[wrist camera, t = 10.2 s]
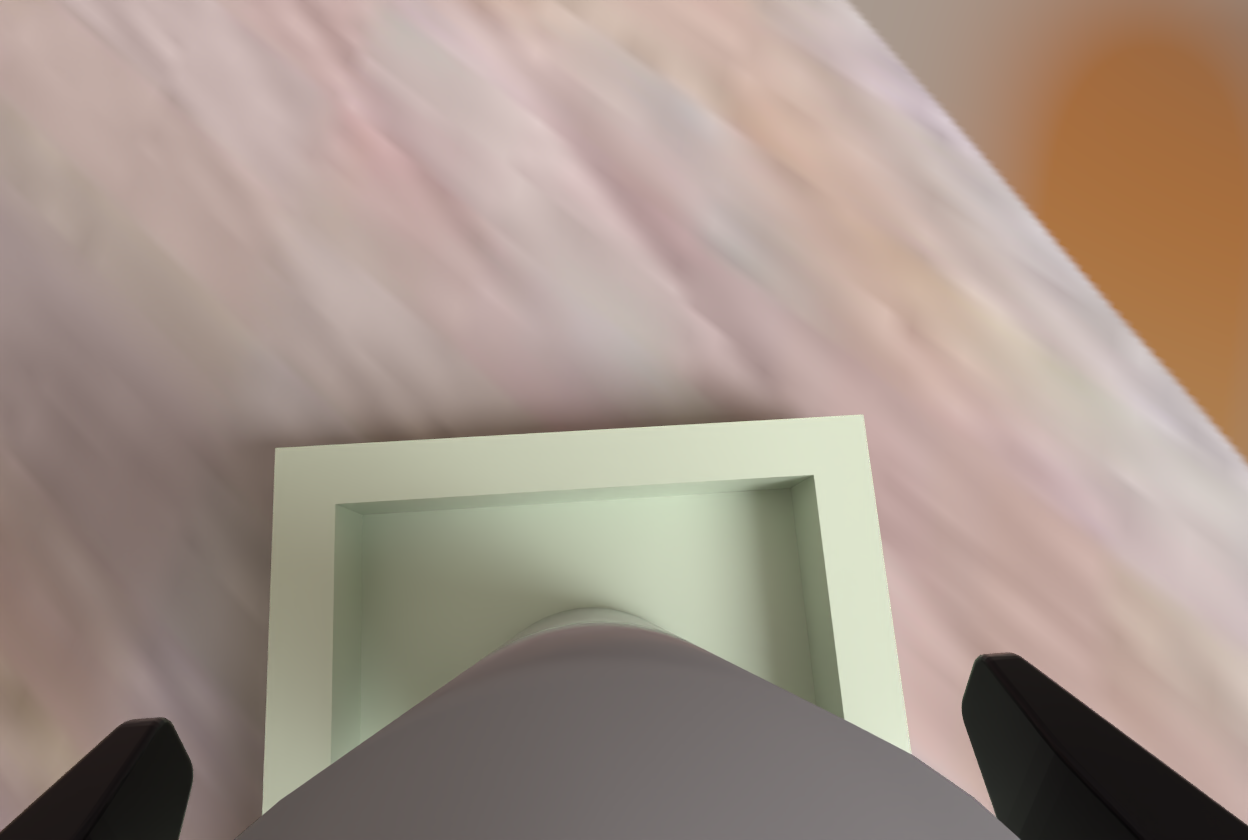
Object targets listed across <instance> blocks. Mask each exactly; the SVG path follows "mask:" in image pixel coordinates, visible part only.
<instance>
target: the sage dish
mask: <svg viewBox="0 0 1248 840" xmlns="http://www.w3.org/2000/svg"><path fill="white" fill-rule="evenodd" d="M591 607H596V608H609V609H614V610H619V611H624V612H627V613H630V614H633V615H635V616H638V617H641V618H643V619H645V620H647V621H649V622H651V623H653V624H655V625H657V626H659V627H661V628H663V629H665V630H667V631H669V632H671V633H673V634H675V635H677V636H679V637H681V638H683V639H685V640H687V641H689V642H691V643H693V644H695V645H696V646H698V647H700V648H702V649H704V650H706V651H708V652H710V653H712V654H714V655H716V656H718V657H720V658H722V659H724V660H726V661H728V662H730V663H732V664H734V665H736V666H738V667H740V668H742V669H744V670H746V671H748V672H750V673H752V674H754V675H756V676H758V677H760V678H762V679H764V680H766V681H768V682H770V683H772V684H774V685H776V686H778V687H780V688H782V689H784V690H786V691H788V692H790V693H792V694H794V695H796V696H798V697H800V698H802V699H804V700H806V701H808V702H810V703H812V704H814V705H816V706H818V707H820V708H822V709H824V710H826V711H828V712H830V713H832V714H834V715H836V716H838V717H840V718H842V719H844V720H846V721H848V722H850V723H852V724H854V725H856V726H858V727H860V728H862V729H864V730H866V731H868V732H870V733H871V734H873V735H875V736H877V737H879V738H881V739H883V740H885V741H887V742H889V743H891V744H893V745H895V746H897V747H898V748H900V749H902V750H904V751H906V752H908V753H910V754H911V747H910V740H909V733H908V726H907V719H906V711H905V704H904V697H903V690H902V683H901V676H900V669H899V662H898V655H897V648H896V641H895V634H894V627H893V620H892V613H891V606H890V599H889V592H888V585H887V578H886V571H885V564H884V557H883V550H882V543H881V536H880V529H879V522H878V515H877V508H876V501H875V494H874V487H873V480H872V473H871V466H870V459H869V452H868V445H867V438H866V431H865V423H864V416H863V415H847V416H829V417H811V418H794V419H776V420H759V421H741V422H723V423H706V424H688V425H671V426H653V427H635V428H618V429H600V430H583V431H565V432H547V433H530V434H512V435H495V436H477V437H459V438H442V439H424V440H407V441H389V442H371V443H354V444H336V445H319V446H301V447H283V448H275V467H274V495H273V523H272V551H271V579H270V607H269V635H268V663H267V691H266V719H265V747H264V775H263V803H262V815H263V814H264V813H266V812H267V811H268V810H269V809H270V808H271V807H273V806H274V805H275V804H276V803H277V802H278V801H280V800H281V799H282V798H284V797H285V796H287V795H288V794H290V793H291V792H292V791H294V790H295V789H297V788H298V787H300V786H301V785H302V784H304V783H305V782H307V781H308V780H310V779H311V778H312V777H314V776H315V775H317V774H318V773H320V772H321V771H322V770H324V769H325V768H327V767H328V766H330V765H331V764H332V763H334V762H335V761H337V760H338V759H340V758H341V757H342V756H344V755H345V754H347V753H348V752H350V751H351V750H352V749H354V748H355V747H357V746H358V745H360V744H361V743H362V742H364V741H365V740H367V739H368V738H370V737H371V736H372V735H374V734H375V733H377V732H378V731H380V730H381V729H382V728H384V727H385V726H387V725H388V724H390V723H391V722H392V721H394V720H395V719H397V718H398V717H400V716H401V715H402V714H404V713H405V712H407V711H408V710H410V709H411V708H412V707H414V706H415V705H417V704H418V703H420V702H421V701H422V700H424V699H425V698H427V697H428V696H430V695H431V694H432V693H434V692H435V691H437V690H438V689H440V688H441V687H442V686H444V685H445V684H447V683H448V682H450V681H451V680H452V679H454V678H455V677H457V676H458V675H460V674H461V673H462V672H464V671H465V670H467V669H468V668H470V667H471V666H472V665H474V664H475V663H477V662H478V661H480V660H481V659H482V658H484V657H485V656H487V655H488V654H490V653H491V652H492V651H494V650H495V649H497V648H498V647H500V646H501V645H502V644H504V643H505V642H507V641H508V640H509V639H511V638H512V637H514V636H515V635H517V634H518V633H519V632H521V631H523V630H524V629H526V628H527V627H529V626H530V625H532V624H533V623H535V622H537V621H539V620H541V619H543V618H545V617H547V616H550V615H553V614H556V613H559V612H562V611H567V610H572V609H577V608H591Z"/></svg>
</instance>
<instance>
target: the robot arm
mask: <svg viewBox="0 0 1248 840" xmlns="http://www.w3.org/2000/svg"><path fill="white" fill-rule="evenodd" d="M962 716H963V720H964V724H965V727H966V730H967V733H968V735H969V738H970V741H971V744H972V747H973V750H974V753H975V756H976V759H977V762H978V765H979V767H980V770H981V773H982V776H983V779H984V782H985V785H986V788H987V791H988V794H989V797H990V799H991V802H992V805H993V808H994V811H995V814H996V817H997V819H998V820H999V821H1001V822H1002V823H1003V824H1004V825H1005V826H1006V827H1007V828H1008V829H1009V830H1011V831H1012V832H1013V833H1014V834H1015V835H1016V836H1017V837H1018V838H1019V839H1021V840H1248V825H1246V824H1245V823H1244V822H1242V821H1241V820H1240V819H1238V818H1237V817H1236V816H1234V815H1233V814H1232V813H1230V812H1229V811H1228V810H1226V809H1225V808H1224V807H1222V806H1221V805H1220V804H1218V803H1217V802H1216V801H1214V800H1213V799H1212V798H1210V797H1209V796H1208V795H1206V794H1205V793H1204V792H1202V791H1201V790H1199V789H1198V788H1197V787H1195V786H1194V785H1193V784H1191V783H1190V782H1189V781H1187V780H1186V779H1185V778H1183V777H1182V776H1181V775H1179V774H1178V773H1177V772H1175V771H1174V770H1173V769H1171V768H1170V767H1169V766H1167V765H1166V764H1165V763H1163V762H1162V761H1161V760H1159V759H1158V758H1157V757H1155V756H1154V755H1153V754H1151V753H1150V752H1148V751H1147V750H1146V749H1144V748H1143V747H1142V746H1140V745H1139V744H1138V743H1136V742H1135V741H1134V740H1132V739H1131V738H1130V737H1128V736H1127V735H1126V734H1124V733H1123V732H1122V731H1120V730H1119V729H1118V728H1116V727H1115V726H1114V725H1112V724H1111V723H1110V722H1108V721H1107V720H1106V719H1104V718H1103V717H1101V716H1100V715H1099V714H1097V713H1096V712H1095V711H1093V710H1092V709H1091V708H1089V707H1088V706H1087V705H1085V704H1084V703H1083V702H1081V701H1080V700H1079V699H1077V698H1076V697H1075V696H1073V695H1072V694H1071V693H1069V692H1068V691H1067V690H1065V689H1064V688H1063V687H1061V686H1060V685H1059V684H1057V683H1056V682H1054V681H1053V680H1052V679H1050V678H1049V677H1048V676H1046V675H1045V674H1044V673H1042V672H1041V671H1040V670H1038V669H1037V668H1036V667H1034V666H1033V665H1032V664H1030V663H1029V662H1028V661H1026V660H1025V659H1024V658H1022V657H1021V656H1019V655H1017V654H1014V653H1007V652H1006V653H993V654H983V655H980V656H979V657H978V658H977V659H976V660H975V662H974V664H973V667H972V670H971V674H970V677H969V680H968V683H967V686H966V689H965V693H964V696H963V699H962ZM192 782H193V768H192V763H191V760H190V758H189V756H188V754H187V752H186V750H185V748H184V746H183V744H182V742H181V740H180V738H179V736H178V734H177V732H176V730H175V728H174V726H173V724H172V723H171V721H169V720H167V719H166V718H162V717H158V718H145V719H134V720H129V721H126V722H124V723H123V724H121V725H120V726H118V727H117V728H116V729H115V730H113V731H112V732H111V733H110V734H109V735H108V736H107V737H106V738H105V739H103V740H102V741H101V742H100V743H99V744H98V745H97V746H96V747H95V748H93V749H92V750H91V751H90V752H89V753H88V754H87V755H86V756H84V757H83V758H82V759H81V760H80V761H79V762H78V763H77V764H76V765H74V766H73V767H72V768H71V769H70V770H69V771H68V772H67V773H66V774H64V775H63V776H62V777H61V778H60V779H59V780H58V781H57V782H56V783H54V784H53V785H52V786H51V787H50V788H49V789H48V790H47V791H45V792H44V793H43V794H42V795H41V796H40V797H39V798H38V799H37V800H35V801H34V802H33V803H32V804H31V805H30V806H29V807H28V808H27V809H25V810H24V811H23V812H22V813H21V814H20V815H19V816H18V817H17V818H15V819H14V820H13V821H12V822H11V823H10V824H9V825H8V826H6V827H5V828H4V829H3V830H2V831H1V832H0V840H179V836H180V832H181V828H182V824H183V820H184V816H185V812H186V808H187V804H188V800H189V795H190V791H191V787H192Z"/></svg>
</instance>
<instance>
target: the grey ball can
mask: <svg viewBox="0 0 1248 840" xmlns="http://www.w3.org/2000/svg"><path fill="white" fill-rule="evenodd" d="M234 840H1021V839H1019V838H1018V837H1017V836H1016V835H1015V834H1014V833H1013V832H1012V831H1011V830H1009V829H1008V828H1007V827H1006V826H1005V825H1004V824H1003V823H1002V822H1001V821H999V820H998V819H997V818H996V817H995V816H994V815H993V814H992V813H990V812H989V811H988V810H987V809H986V808H985V807H984V806H983V805H982V804H980V803H979V802H978V801H977V800H976V799H975V798H974V797H972V796H971V795H969V794H968V793H967V792H965V791H964V790H962V789H961V788H959V787H958V786H956V785H955V784H954V783H952V782H951V781H949V780H948V779H946V778H945V777H944V776H942V775H941V774H939V773H938V772H936V771H935V770H933V769H932V768H931V767H929V766H928V765H926V764H925V763H923V762H922V761H920V760H919V759H918V758H916V757H915V756H913V755H912V754H910V753H908V752H906V751H904V750H902V749H900V748H898V747H897V746H895V745H893V744H891V743H889V742H887V741H885V740H883V739H881V738H879V737H877V736H875V735H873V734H871V733H870V732H868V731H866V730H864V729H862V728H860V727H858V726H856V725H854V724H852V723H850V722H848V721H846V720H844V719H842V718H840V717H838V716H836V715H834V714H832V713H830V712H828V711H826V710H824V709H822V708H820V707H818V706H816V705H814V704H812V703H810V702H808V701H806V700H804V699H802V698H800V697H798V696H796V695H794V694H792V693H790V692H788V691H786V690H784V689H782V688H780V687H778V686H776V685H774V684H772V683H770V682H768V681H766V680H764V679H762V678H760V677H758V676H756V675H754V674H752V673H750V672H748V671H746V670H744V669H742V668H740V667H738V666H736V665H734V664H732V663H730V662H728V661H726V660H724V659H722V658H720V657H718V656H716V655H714V654H712V653H710V652H708V651H706V650H704V649H702V648H700V647H698V646H696V645H695V644H693V643H691V642H689V641H687V640H685V639H683V638H681V637H679V636H677V635H675V634H673V633H671V632H669V631H667V630H665V629H663V628H661V627H659V626H657V625H655V624H653V623H651V622H649V621H647V620H645V619H643V618H641V617H638V616H635V615H633V614H630V613H627V612H624V611H619V610H614V609H609V608H596V607H591V608H577V609H572V610H567V611H562V612H559V613H556V614H553V615H550V616H547V617H545V618H543V619H541V620H539V621H537V622H535V623H533V624H532V625H530V626H529V627H527V628H526V629H524V630H523V631H521V632H519V633H518V634H517V635H515V636H514V637H512V638H511V639H509V640H508V641H507V642H505V643H504V644H502V645H501V646H500V647H498V648H497V649H495V650H494V651H492V652H491V653H490V654H488V655H487V656H485V657H484V658H482V659H481V660H480V661H478V662H477V663H475V664H474V665H472V666H471V667H470V668H468V669H467V670H465V671H464V672H462V673H461V674H460V675H458V676H457V677H455V678H454V679H452V680H451V681H450V682H448V683H447V684H445V685H444V686H442V687H441V688H440V689H438V690H437V691H435V692H434V693H432V694H431V695H430V696H428V697H427V698H425V699H424V700H422V701H421V702H420V703H418V704H417V705H415V706H414V707H412V708H411V709H410V710H408V711H407V712H405V713H404V714H402V715H401V716H400V717H398V718H397V719H395V720H394V721H392V722H391V723H390V724H388V725H387V726H385V727H384V728H382V729H381V730H380V731H378V732H377V733H375V734H374V735H372V736H371V737H370V738H368V739H367V740H365V741H364V742H362V743H361V744H360V745H358V746H357V747H355V748H354V749H352V750H351V751H350V752H348V753H347V754H345V755H344V756H342V757H341V758H340V759H338V760H337V761H335V762H334V763H332V764H331V765H330V766H328V767H327V768H325V769H324V770H322V771H321V772H320V773H318V774H317V775H315V776H314V777H312V778H311V779H310V780H308V781H307V782H305V783H304V784H302V785H301V786H300V787H298V788H297V789H295V790H294V791H292V792H291V793H290V794H288V795H287V796H285V797H284V798H282V799H281V800H280V801H278V802H277V803H276V804H275V805H274V806H273V807H271V808H270V809H269V810H268V811H267V812H266V813H264V814H263V815H262V816H261V817H260V818H259V819H257V820H256V821H255V822H254V823H253V824H252V825H250V826H249V827H248V828H247V829H246V830H245V831H244V832H242V833H241V834H240V835H239V836H238V837H237V838H235V839H234Z"/></svg>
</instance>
